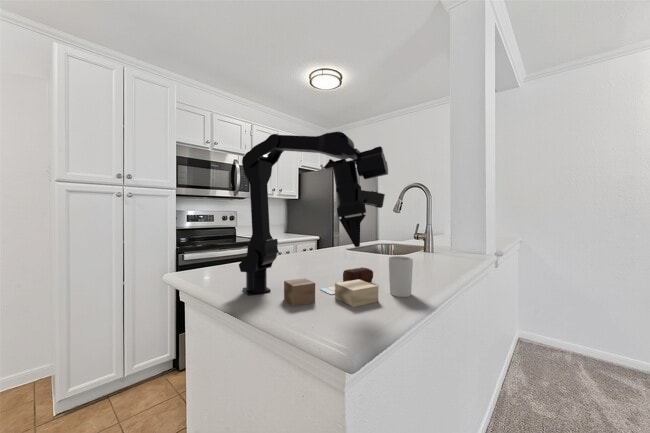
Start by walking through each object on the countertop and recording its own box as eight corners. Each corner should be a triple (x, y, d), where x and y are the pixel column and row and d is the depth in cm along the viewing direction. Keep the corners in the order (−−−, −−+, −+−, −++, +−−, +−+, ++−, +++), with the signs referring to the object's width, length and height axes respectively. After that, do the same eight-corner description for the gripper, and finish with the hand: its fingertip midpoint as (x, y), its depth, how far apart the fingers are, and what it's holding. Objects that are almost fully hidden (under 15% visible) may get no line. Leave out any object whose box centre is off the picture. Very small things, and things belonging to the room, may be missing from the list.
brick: (352, 288, 81) (352, 272, 81) (342, 285, 84) (342, 270, 84) (373, 282, 89) (373, 268, 89) (363, 280, 92) (364, 266, 92)
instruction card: (319, 289, 80) (319, 288, 80) (344, 285, 85) (344, 284, 85) (330, 294, 75) (330, 293, 75) (356, 290, 80) (356, 289, 80)
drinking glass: (397, 298, 72) (397, 260, 72) (383, 291, 78) (383, 256, 78) (418, 295, 74) (418, 259, 74) (403, 289, 81) (403, 255, 81)
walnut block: (284, 299, 71) (284, 280, 71) (304, 296, 74) (304, 278, 74) (293, 306, 66) (293, 286, 66) (315, 302, 69) (315, 282, 69)
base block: (335, 298, 72) (335, 283, 72) (358, 293, 76) (358, 279, 76) (353, 307, 65) (353, 290, 65) (378, 301, 70) (378, 285, 69)
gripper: (383, 170, 58) (395, 242, 57) (376, 183, 77) (385, 238, 76) (331, 179, 59) (343, 250, 58) (337, 190, 78) (346, 244, 77)
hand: (357, 245), depth 67 cm, fingers open, 9 cm apart
